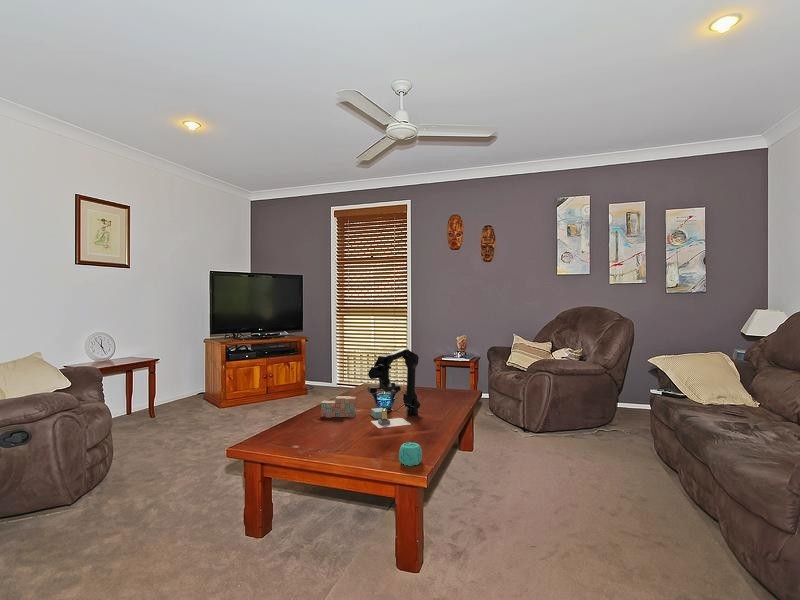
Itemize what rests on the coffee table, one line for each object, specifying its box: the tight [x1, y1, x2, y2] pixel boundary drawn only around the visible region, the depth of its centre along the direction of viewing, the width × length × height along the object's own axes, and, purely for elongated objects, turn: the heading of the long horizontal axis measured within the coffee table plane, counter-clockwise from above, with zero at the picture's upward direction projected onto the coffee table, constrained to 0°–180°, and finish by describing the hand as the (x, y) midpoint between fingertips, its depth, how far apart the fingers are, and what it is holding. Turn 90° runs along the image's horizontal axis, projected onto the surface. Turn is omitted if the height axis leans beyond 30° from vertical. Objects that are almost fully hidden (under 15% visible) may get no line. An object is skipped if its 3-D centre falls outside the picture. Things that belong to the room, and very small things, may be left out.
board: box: [370, 417, 411, 429], centre depth 255 cm, size 20×15×4 cm
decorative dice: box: [398, 442, 423, 467], centre depth 196 cm, size 8×8×8 cm
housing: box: [370, 407, 384, 420], centre depth 270 cm, size 7×9×6 cm
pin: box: [381, 408, 388, 421], centre depth 254 cm, size 3×3×8 cm
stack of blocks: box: [320, 395, 357, 418], centre depth 275 cm, size 21×6×12 cm, turn 85°
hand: (384, 403), depth 254 cm, fingers open, 9 cm apart
